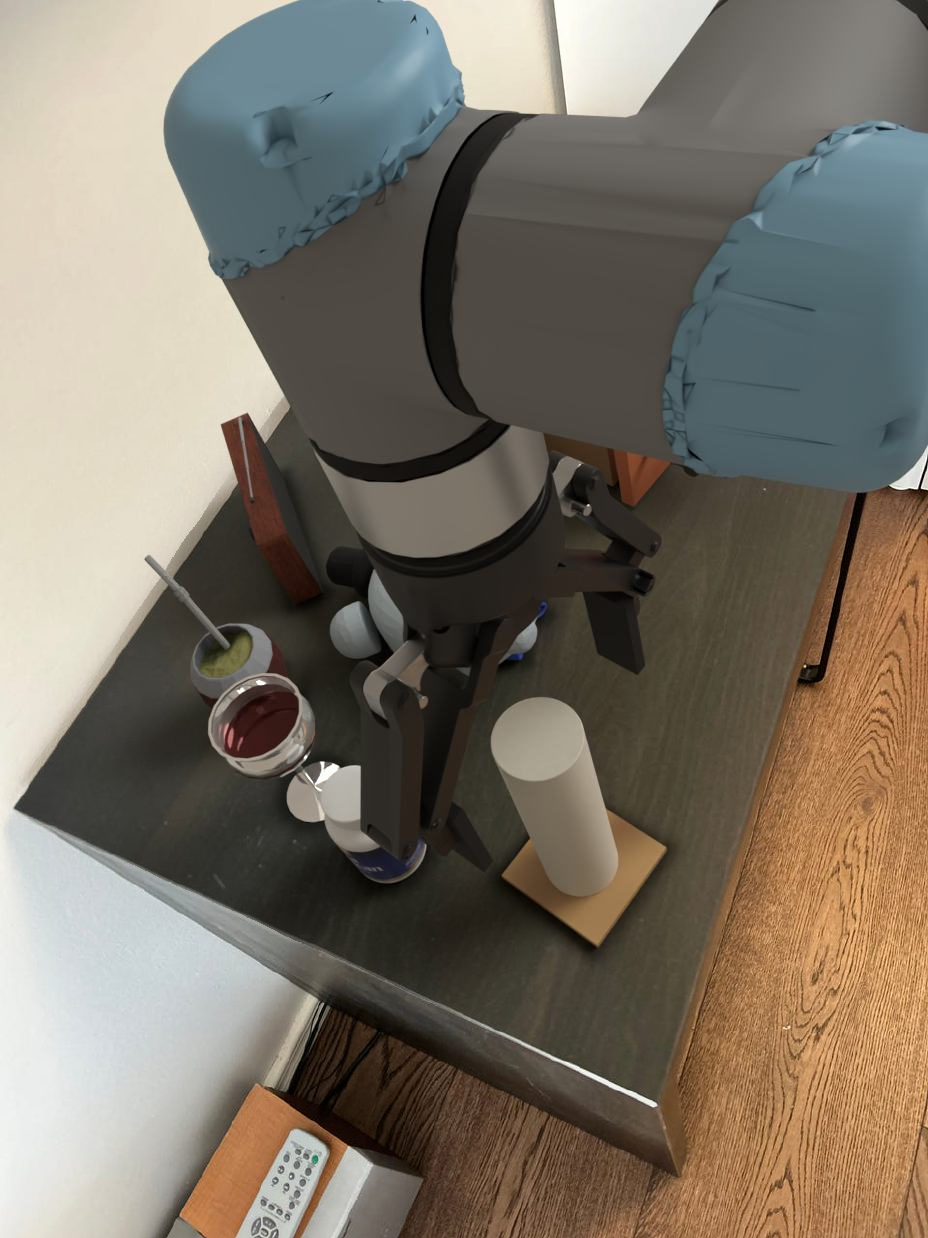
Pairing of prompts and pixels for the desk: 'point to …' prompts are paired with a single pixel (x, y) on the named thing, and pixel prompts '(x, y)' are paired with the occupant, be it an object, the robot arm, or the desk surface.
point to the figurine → (382, 611)
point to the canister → (556, 793)
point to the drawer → (615, 465)
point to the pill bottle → (345, 830)
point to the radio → (270, 510)
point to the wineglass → (271, 738)
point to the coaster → (599, 909)
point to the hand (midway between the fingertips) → (548, 752)
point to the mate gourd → (225, 650)
